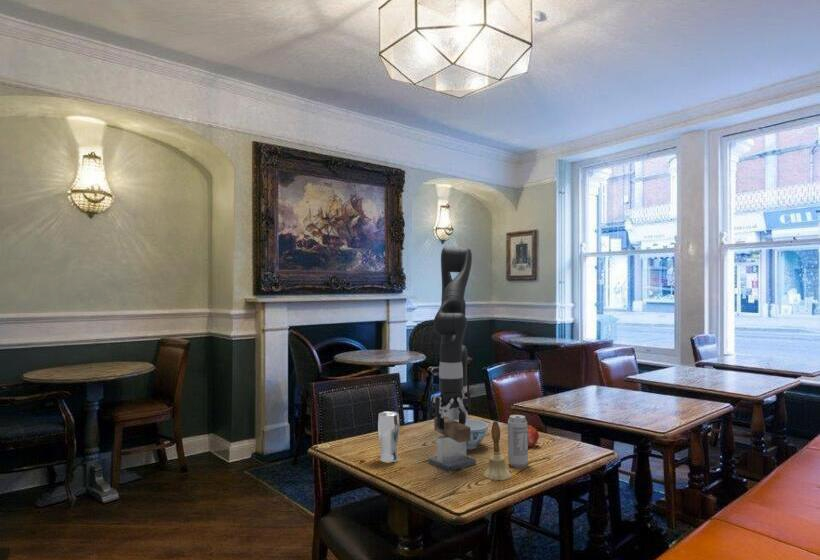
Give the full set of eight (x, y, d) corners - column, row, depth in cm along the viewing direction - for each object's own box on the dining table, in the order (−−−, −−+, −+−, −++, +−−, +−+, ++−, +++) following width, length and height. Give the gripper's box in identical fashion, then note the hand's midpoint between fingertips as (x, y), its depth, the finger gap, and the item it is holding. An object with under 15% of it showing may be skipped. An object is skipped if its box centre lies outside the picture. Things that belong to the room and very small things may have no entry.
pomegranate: (520, 448, 185) (509, 436, 179) (528, 430, 188) (517, 417, 182) (538, 454, 180) (527, 442, 174) (546, 436, 183) (535, 423, 177)
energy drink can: (524, 461, 164) (523, 413, 164) (530, 467, 158) (529, 418, 158) (505, 462, 163) (505, 414, 164) (511, 468, 157) (511, 419, 158)
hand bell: (493, 482, 146) (492, 426, 146) (477, 473, 154) (477, 419, 154) (517, 478, 149) (516, 422, 150) (501, 469, 157) (500, 416, 157)
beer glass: (389, 455, 171) (389, 410, 171) (404, 460, 166) (403, 413, 166) (373, 460, 166) (373, 413, 167) (388, 465, 161) (387, 417, 162)
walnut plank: (434, 429, 169) (434, 417, 169) (445, 428, 170) (444, 416, 170) (459, 442, 154) (458, 429, 154) (470, 440, 156) (470, 427, 156)
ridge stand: (428, 463, 163) (428, 434, 163) (455, 456, 169) (454, 429, 169) (448, 471, 155) (448, 441, 155) (475, 464, 161) (475, 435, 161)
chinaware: (497, 447, 179) (497, 425, 179) (466, 456, 170) (465, 432, 170) (467, 438, 191) (467, 417, 191) (436, 445, 182) (436, 423, 182)
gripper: (460, 372, 170) (460, 421, 169) (425, 376, 162) (426, 428, 161) (475, 375, 164) (476, 426, 163) (440, 379, 156) (441, 433, 155)
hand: (451, 427), depth 162 cm, fingers open, 8 cm apart
